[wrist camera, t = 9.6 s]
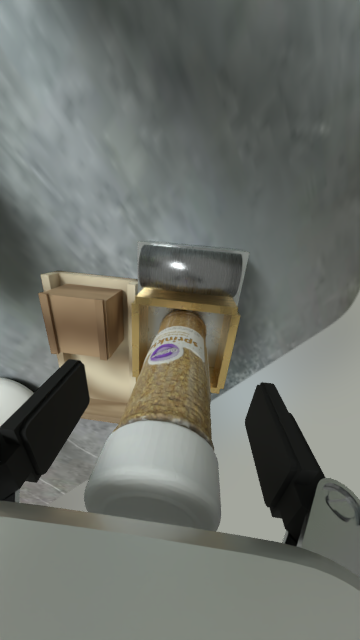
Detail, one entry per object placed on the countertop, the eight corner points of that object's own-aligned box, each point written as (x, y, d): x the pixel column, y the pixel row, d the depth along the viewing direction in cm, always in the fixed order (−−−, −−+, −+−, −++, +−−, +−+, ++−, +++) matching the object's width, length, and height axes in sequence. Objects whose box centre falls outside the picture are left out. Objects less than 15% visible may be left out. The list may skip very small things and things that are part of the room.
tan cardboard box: (67, 282, 20) (36, 293, 16) (122, 288, 20) (103, 300, 16) (75, 333, 23) (49, 353, 19) (124, 339, 23) (108, 360, 19)
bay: (57, 270, 21) (32, 276, 18) (142, 279, 21) (131, 287, 17) (78, 395, 29) (63, 415, 25) (141, 404, 28) (133, 425, 25)
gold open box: (149, 240, 19) (123, 241, 12) (239, 249, 19) (261, 255, 12) (147, 343, 24) (127, 383, 17) (218, 352, 23) (226, 397, 17)
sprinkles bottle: (191, 300, 17) (171, 463, 5) (214, 339, 18) (248, 547, 6) (149, 323, 18) (48, 498, 6) (174, 358, 20) (134, 562, 7)
